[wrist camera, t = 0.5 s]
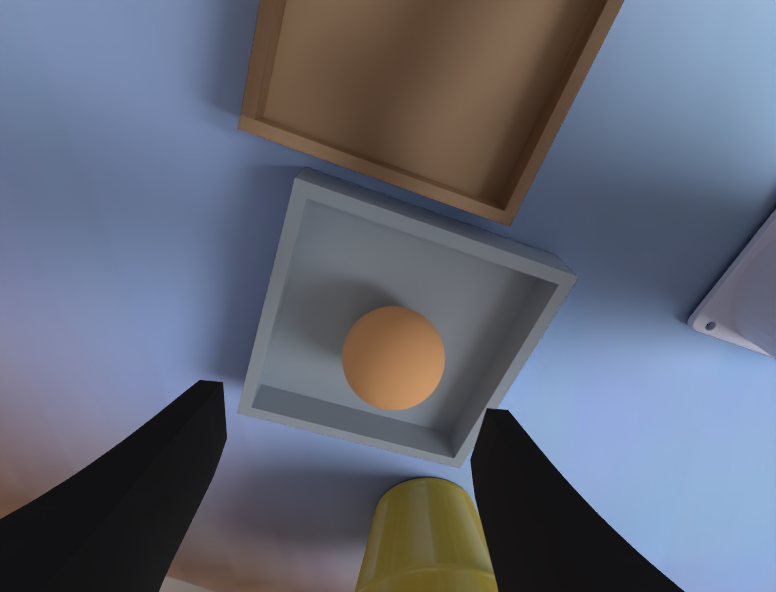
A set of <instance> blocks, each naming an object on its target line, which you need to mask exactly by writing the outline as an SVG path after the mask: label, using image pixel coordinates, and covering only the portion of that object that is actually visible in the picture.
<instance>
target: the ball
mask: <svg viewBox="0 0 776 592" xmlns="http://www.w3.org/2000/svg"><path fill="white" fill-rule="evenodd" d="M444 365H445V352H444V346H443V343H442V340H441V337H440V335H439V333H438V331H437V330H436V328H435V327H434V326H433V324H432V323H431V322H430V321H429V320H428V319H427V318H425V317H424V316H423V315H421V314H420V313H418V312H416V311H414V310H411V309H408V308H405V307H399V306H388V307H382V308H378V309H375V310H373V311H371V312H369V313H367V314H365V315H364V316H362V317H361V318H360V319H359V320H358V321H357V322H356V323H355V324H354V325H353V326H352V328H351V330H350V331H349V333H348V335H347V337H346V339H345V342H344V346H343V350H342V366H343V371H344V374H345V377H346V380H347V382H348V384H349V385H350V387H351V388H352V390H353V391H354V392H355V394H356V395H357V396H358V397H360V398H361V399H362V400H363V401H365V402H366V403H368V404H370V405H372V406H374V407H377V408H380V409H384V410H403V409H407V408H410V407H413V406H415V405H417V404H419V403H421V402H422V401H424V400H425V399H426V398H427V397H428V396H430V395H431V394H432V392H433V391H434V390H435V388H436V387H437V385H438V384H439V382H440V380H441V377H442V374H443V371H444Z"/></svg>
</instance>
